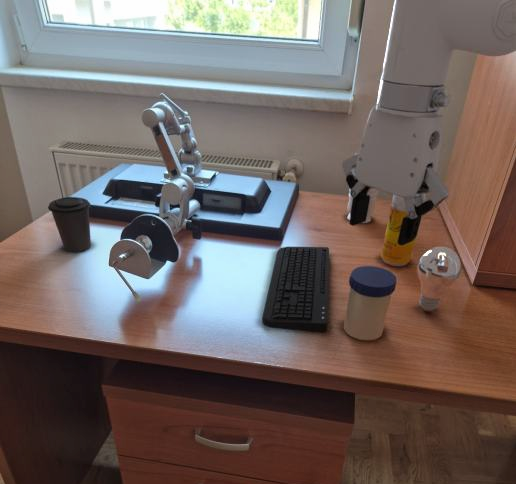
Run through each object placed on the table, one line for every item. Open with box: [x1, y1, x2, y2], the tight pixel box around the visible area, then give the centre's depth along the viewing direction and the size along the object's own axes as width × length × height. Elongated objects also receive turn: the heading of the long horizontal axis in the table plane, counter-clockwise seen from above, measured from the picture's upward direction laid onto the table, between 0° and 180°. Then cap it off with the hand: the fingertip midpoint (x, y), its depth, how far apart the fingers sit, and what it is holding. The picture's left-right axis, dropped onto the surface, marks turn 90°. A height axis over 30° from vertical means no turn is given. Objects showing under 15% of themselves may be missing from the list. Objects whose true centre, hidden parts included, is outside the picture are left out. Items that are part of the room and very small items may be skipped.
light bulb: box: [416, 245, 462, 313], centre depth 81 cm, size 7×7×12 cm
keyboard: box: [261, 246, 330, 333], centre depth 90 cm, size 30×11×2 cm, turn 173°
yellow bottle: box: [380, 193, 427, 267], centre depth 96 cm, size 6×6×15 cm
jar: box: [343, 286, 392, 341], centre depth 76 cm, size 6×6×9 cm
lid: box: [348, 265, 397, 297], centre depth 74 cm, size 7×7×2 cm
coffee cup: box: [47, 196, 92, 253], centre depth 98 cm, size 8×8×10 cm
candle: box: [346, 152, 379, 224], centre depth 115 cm, size 7×7×15 cm
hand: (380, 232), depth 69 cm, fingers open, 8 cm apart
